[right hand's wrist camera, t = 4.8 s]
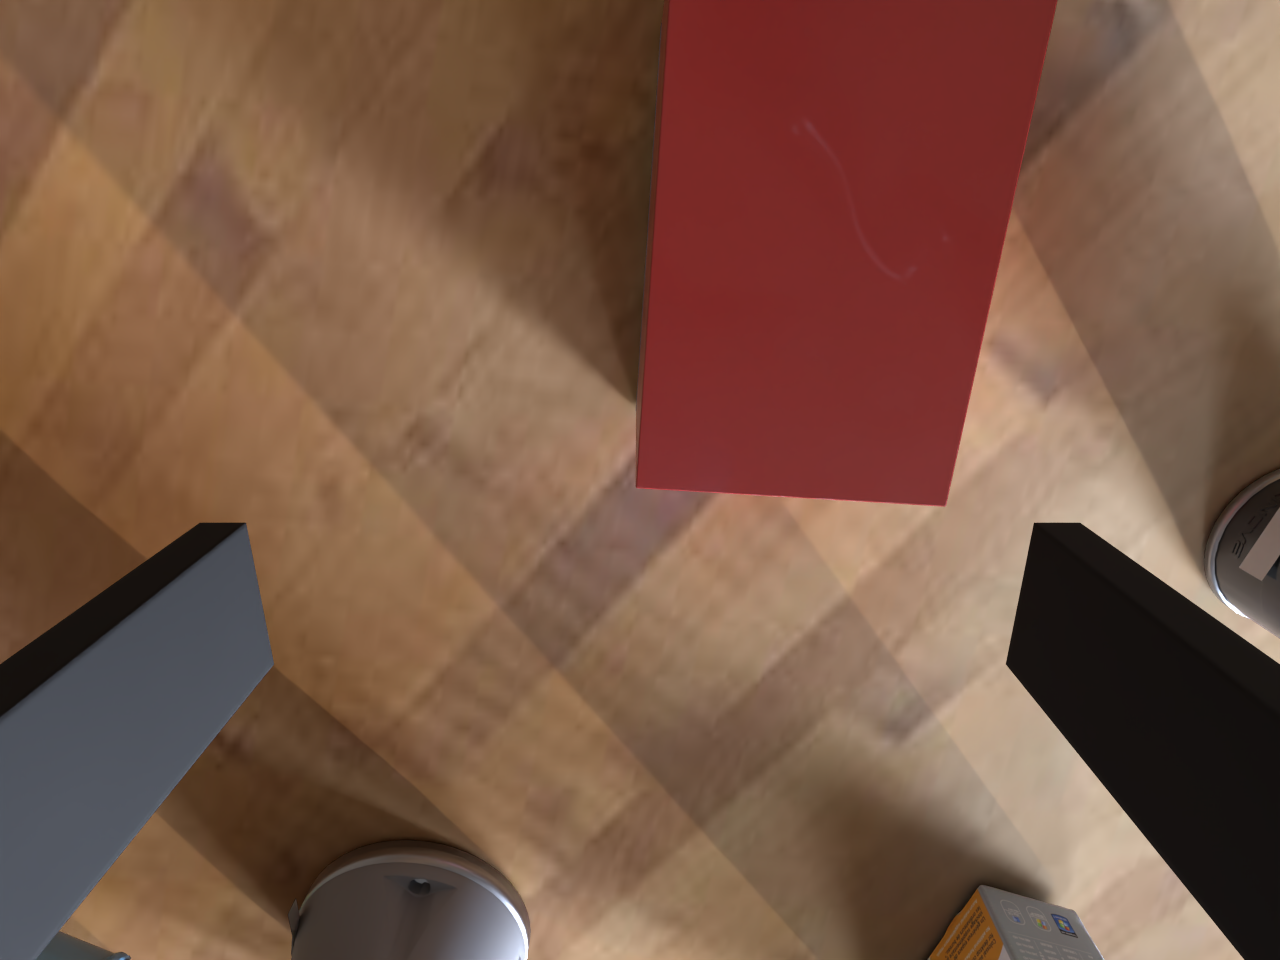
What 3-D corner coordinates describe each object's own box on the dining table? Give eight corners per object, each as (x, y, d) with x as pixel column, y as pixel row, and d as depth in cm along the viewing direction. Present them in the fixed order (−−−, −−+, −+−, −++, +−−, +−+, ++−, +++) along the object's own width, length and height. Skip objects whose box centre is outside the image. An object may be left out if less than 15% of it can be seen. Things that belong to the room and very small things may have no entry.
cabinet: (660, 26, 32) (673, -75, 21) (919, 46, 33) (1067, -43, 21) (635, 408, 38) (635, 488, 27) (856, 421, 38) (946, 507, 27)
